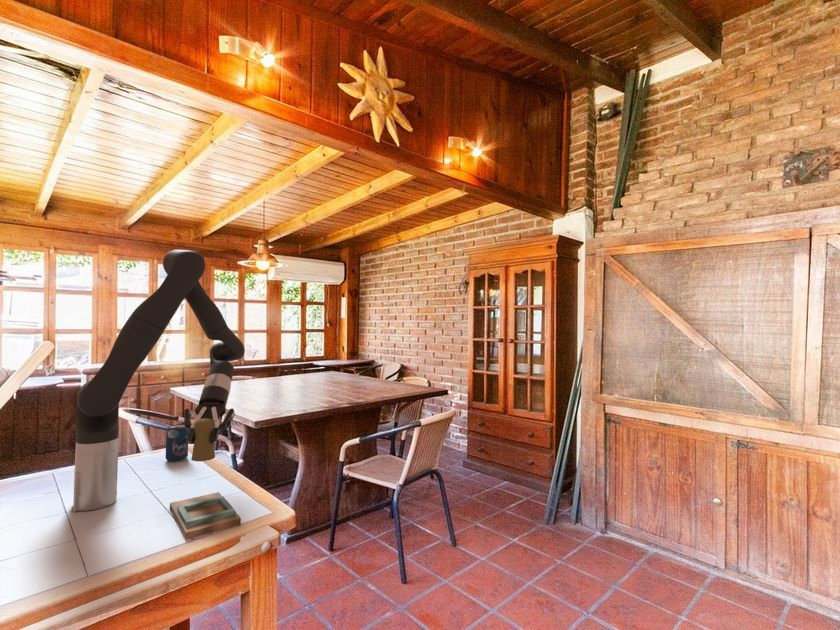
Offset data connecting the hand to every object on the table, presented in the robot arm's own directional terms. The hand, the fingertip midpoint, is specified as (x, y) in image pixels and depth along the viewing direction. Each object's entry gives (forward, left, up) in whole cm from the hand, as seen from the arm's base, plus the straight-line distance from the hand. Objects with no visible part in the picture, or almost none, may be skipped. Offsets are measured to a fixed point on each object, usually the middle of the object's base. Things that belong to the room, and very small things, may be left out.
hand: (201, 442), depth 118 cm
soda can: (+1, +41, -16) cm, 44 cm away
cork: (+1, +2, -5) cm, 5 cm away
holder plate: (-2, -12, -16) cm, 20 cm away
